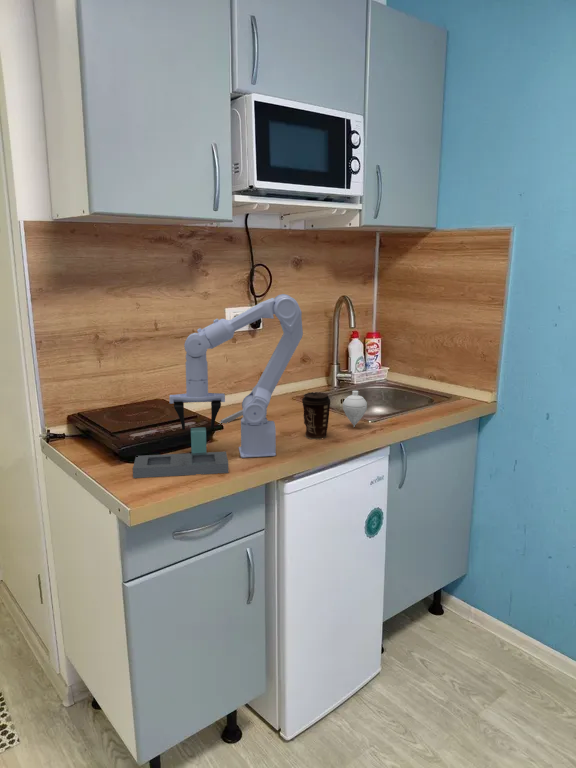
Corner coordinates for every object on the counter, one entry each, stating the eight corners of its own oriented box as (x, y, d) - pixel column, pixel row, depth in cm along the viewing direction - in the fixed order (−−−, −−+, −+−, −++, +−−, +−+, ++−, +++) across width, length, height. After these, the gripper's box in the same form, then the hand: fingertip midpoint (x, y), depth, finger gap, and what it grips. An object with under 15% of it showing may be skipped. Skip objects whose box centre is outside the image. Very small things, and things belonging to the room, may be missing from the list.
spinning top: (338, 429, 177) (339, 392, 175) (346, 423, 184) (348, 387, 181) (361, 432, 174) (363, 394, 171) (369, 426, 181) (370, 389, 178)
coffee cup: (307, 430, 175) (308, 390, 173) (333, 433, 172) (334, 392, 170) (297, 438, 167) (298, 396, 165) (324, 442, 164) (325, 399, 162)
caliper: (263, 413, 196) (263, 395, 195) (265, 413, 196) (265, 396, 194) (217, 425, 182) (217, 406, 181) (220, 425, 181) (219, 406, 180)
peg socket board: (226, 460, 149) (226, 451, 148) (228, 472, 140) (228, 463, 140) (136, 465, 145) (136, 455, 145) (133, 478, 136) (132, 468, 136)
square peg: (206, 451, 156) (205, 427, 154) (206, 456, 152) (206, 431, 150) (191, 452, 155) (190, 427, 154) (191, 457, 151) (190, 432, 150)
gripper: (223, 375, 154) (224, 422, 157) (169, 376, 152) (171, 424, 155) (225, 380, 147) (225, 430, 150) (168, 381, 145) (170, 432, 148)
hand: (198, 428), depth 152 cm, fingers open, 7 cm apart
